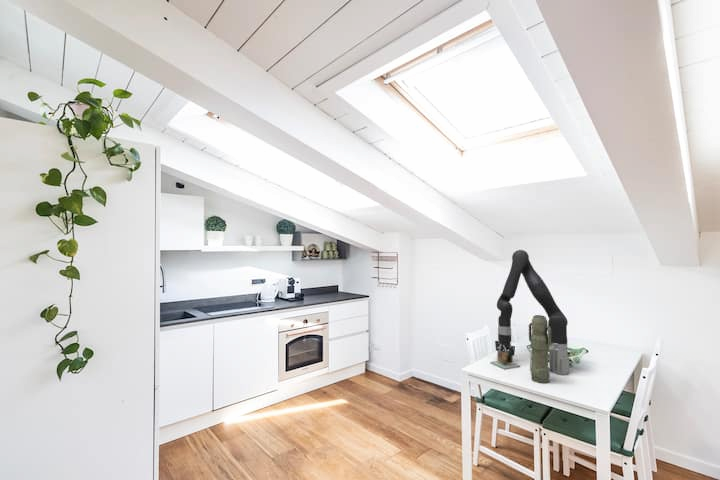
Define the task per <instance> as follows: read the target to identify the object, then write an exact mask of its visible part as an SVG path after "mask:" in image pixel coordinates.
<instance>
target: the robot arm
mask: <svg viewBox="0 0 720 480" xmlns="http://www.w3.org/2000/svg"><path fill="white" fill-rule="evenodd" d="M511 260H512V262H511V267H510V271H509V273H508V276H507V278H506V281H505V283H504V286H503V289H502V292H501V294H500V296H499V297H498V299H497V303H496V308H497V310H499V311H500V316H498V321H497V323H498V327H497V340H495V341H494V344H495V351H501V350H505V352H506V353H507V362H511V356H512V357H514V356H515V350H516V346H515V345H512V344H511V342H512V327H511V325H512V324H511V323H512V320H511V319H512V316H513V305H512V303H511V302H510V301H511V300H512V299H513V298H514V297H515V295H516V292H517V289H518V286H519V282H520V278H521V274H522V277H523V279H524V281H525V283H526V285H527V288H528V289H529V291H530V293H531V294H532V297H534V299H535V300H536V301H537V302H538V304H539V305H540V306H541V307H542V308H543V310H544V311H545V313H546V315H547V317H548V320H547V322H548V326H549V327H550V328H551V345H550V346H549V350H548V367H549V373H550V372H551V374H552V373H553V374H556V375H560V376H564V375H565V376H566V375H570V356H568V336H567V335H568V333H567V332H568V329H567V326H568V322H569V321H568V319H567V317H566V316H565V314H564V313H563V312H562V310H561V309H560V308H559V306H558V305H557V303H556V301H555V299H554V297H553V295H552V293H551V292H550V289H549V288H548V286H547V285H546V283H545V281H544V280H543V278H542V277H541V276H540V275H539V274H538V273H537V271H536V270H535V269H534V267H533V265H532V264H531V261H530V255H529V254H528V252H527V251H525V250H523V249H518V250H516V251H514V252H513V254H512V257H511ZM509 353H510V354H509Z"/></svg>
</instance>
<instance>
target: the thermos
mask: <svg viewBox="0 0 720 480" xmlns="http://www.w3.org/2000/svg"><path fill="white" fill-rule="evenodd" d="M528 341H529V342H530V349H531V348H532V366H531V371H530V375H531V381H533V382H535V383H538V384H549V383H550V370H549V346H550V345H551V328H550V327H549V326H548V320H547V317H546V316H544V315H542V314H541V315H540V314H535V315H533V317H532V319H531V322H530V323H529V324H528Z"/></svg>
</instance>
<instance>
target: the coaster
mask: <svg viewBox="0 0 720 480" xmlns="http://www.w3.org/2000/svg"><path fill="white" fill-rule="evenodd" d="M489 363H490V364H492V365H493V366H496V367H498V368H500V369H503V370H504V371H505V370H506V371H507V370H511V369H516V368H520V367H521V365H520V364H517V363H515V362H514V361H513V362H512V363H507V364H504V363H502V362H499V361H498V360H493V361H490V362H489Z"/></svg>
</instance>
